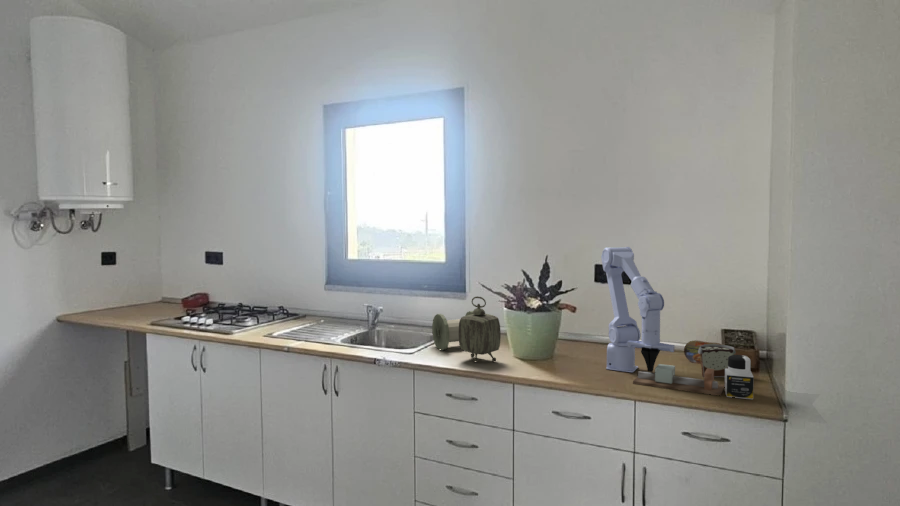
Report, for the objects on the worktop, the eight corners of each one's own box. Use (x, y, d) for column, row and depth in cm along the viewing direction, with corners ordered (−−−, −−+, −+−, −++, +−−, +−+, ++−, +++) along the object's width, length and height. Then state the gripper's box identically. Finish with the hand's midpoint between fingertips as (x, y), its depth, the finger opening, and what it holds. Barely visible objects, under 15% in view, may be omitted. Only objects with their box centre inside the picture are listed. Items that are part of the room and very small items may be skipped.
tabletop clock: (500, 361, 209) (500, 296, 207) (486, 366, 202) (485, 299, 201) (471, 356, 219) (471, 293, 217) (456, 360, 212) (455, 296, 210)
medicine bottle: (726, 397, 165) (727, 358, 164) (724, 390, 171) (725, 352, 170) (753, 399, 162) (754, 360, 161) (750, 392, 168) (751, 354, 168)
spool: (466, 342, 243) (466, 308, 242) (482, 349, 230) (481, 314, 229) (432, 346, 237) (431, 311, 236) (446, 353, 223) (445, 317, 222)
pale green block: (655, 381, 178) (655, 368, 177) (658, 376, 183) (659, 363, 182) (671, 383, 175) (671, 370, 175) (674, 379, 180) (675, 365, 180)
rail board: (633, 383, 179) (633, 365, 179) (640, 375, 188) (640, 358, 188) (720, 396, 166) (721, 376, 165) (724, 387, 174) (724, 368, 174)
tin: (683, 361, 206) (683, 339, 206) (686, 359, 209) (686, 337, 208) (726, 368, 196) (726, 345, 196) (729, 366, 198) (729, 343, 198)
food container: (725, 371, 192) (726, 343, 191) (735, 376, 186) (735, 347, 185) (691, 372, 191) (691, 344, 191) (699, 377, 185) (700, 348, 185)
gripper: (625, 330, 181) (625, 370, 182) (671, 334, 173) (671, 376, 174) (630, 326, 187) (630, 365, 188) (675, 330, 179) (675, 371, 180)
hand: (650, 370), depth 181 cm, fingers closed
